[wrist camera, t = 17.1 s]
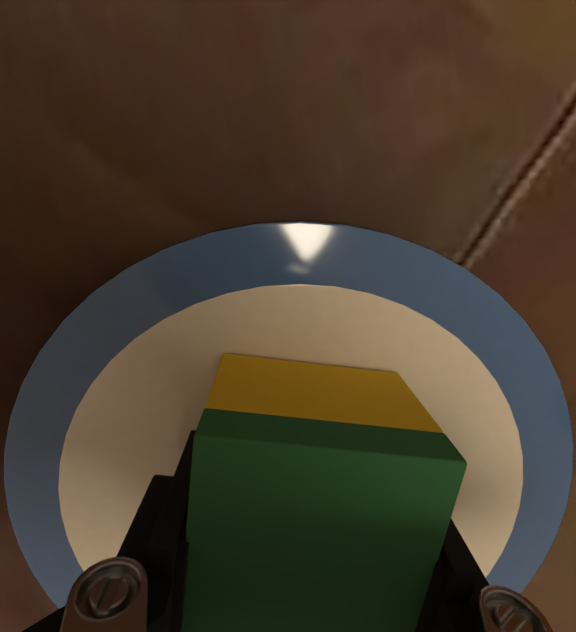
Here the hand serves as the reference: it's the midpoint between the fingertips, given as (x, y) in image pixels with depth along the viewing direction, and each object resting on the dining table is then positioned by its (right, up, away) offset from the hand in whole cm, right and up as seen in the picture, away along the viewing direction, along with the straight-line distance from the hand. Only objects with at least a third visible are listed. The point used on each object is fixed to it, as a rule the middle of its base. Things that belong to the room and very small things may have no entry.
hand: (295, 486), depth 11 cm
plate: (0, -1, +2) cm, 2 cm away
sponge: (0, 0, +1) cm, 1 cm away
